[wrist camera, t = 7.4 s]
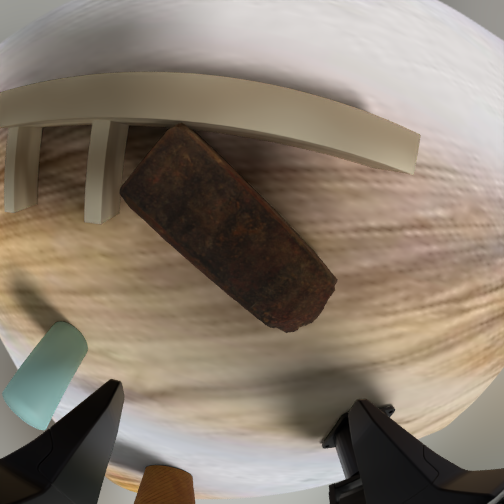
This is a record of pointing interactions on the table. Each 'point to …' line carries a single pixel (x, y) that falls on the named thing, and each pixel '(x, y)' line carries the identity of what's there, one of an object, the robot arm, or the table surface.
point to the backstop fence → (189, 113)
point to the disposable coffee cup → (165, 486)
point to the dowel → (46, 375)
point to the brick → (228, 231)
